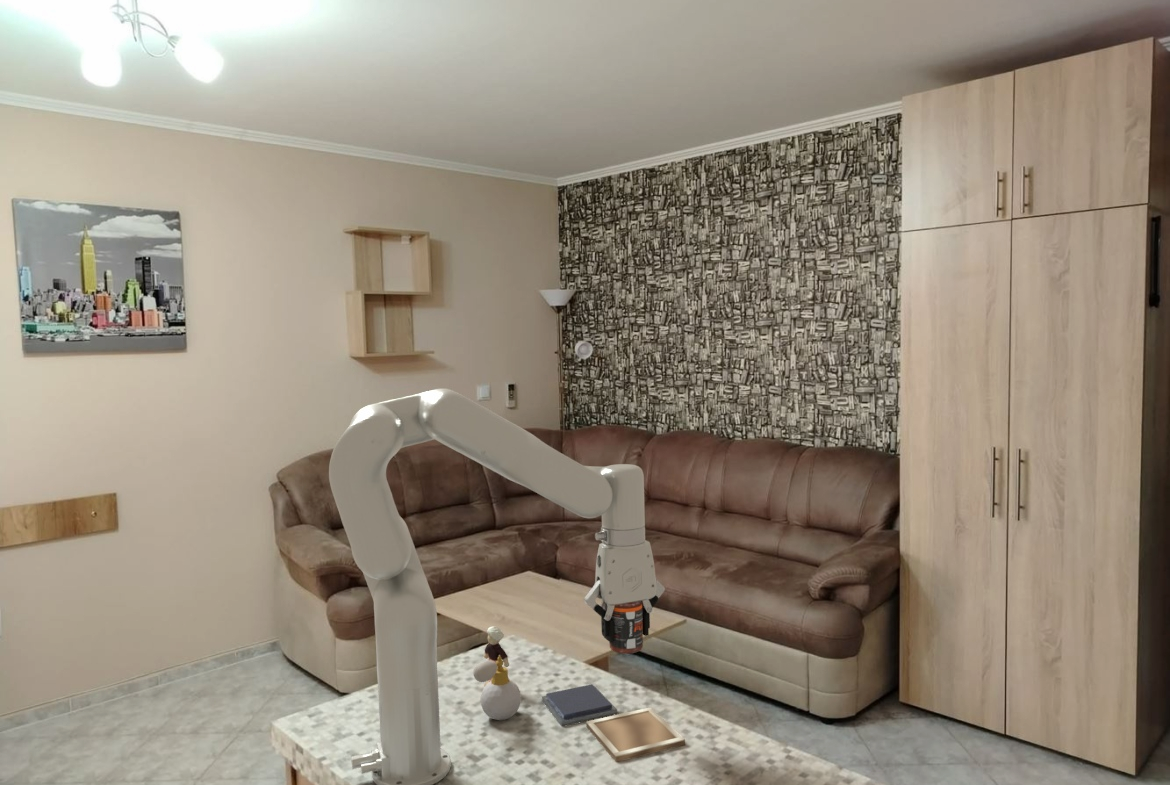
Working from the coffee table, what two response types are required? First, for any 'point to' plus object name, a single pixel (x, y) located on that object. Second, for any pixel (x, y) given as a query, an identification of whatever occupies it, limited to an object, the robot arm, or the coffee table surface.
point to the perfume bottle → (497, 690)
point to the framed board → (634, 734)
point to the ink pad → (578, 705)
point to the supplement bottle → (627, 628)
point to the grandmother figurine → (495, 647)
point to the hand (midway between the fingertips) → (626, 635)
